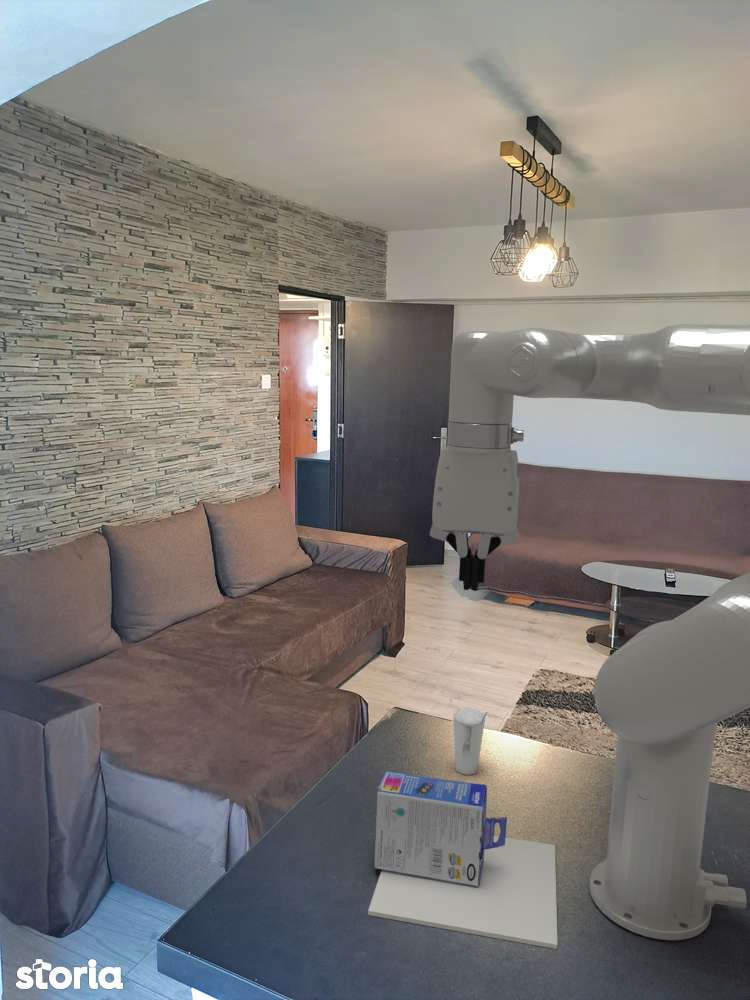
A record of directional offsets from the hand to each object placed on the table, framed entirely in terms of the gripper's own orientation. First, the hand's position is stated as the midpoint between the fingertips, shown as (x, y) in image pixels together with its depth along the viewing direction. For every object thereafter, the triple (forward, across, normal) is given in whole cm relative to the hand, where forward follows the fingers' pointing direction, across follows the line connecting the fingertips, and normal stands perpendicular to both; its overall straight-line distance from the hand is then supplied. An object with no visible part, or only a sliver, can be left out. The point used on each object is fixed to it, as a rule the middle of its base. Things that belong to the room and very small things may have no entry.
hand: (471, 587), depth 93 cm
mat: (+31, -2, +12) cm, 33 cm away
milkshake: (+31, 0, -13) cm, 34 cm away
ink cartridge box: (+26, +9, +11) cm, 29 cm away
